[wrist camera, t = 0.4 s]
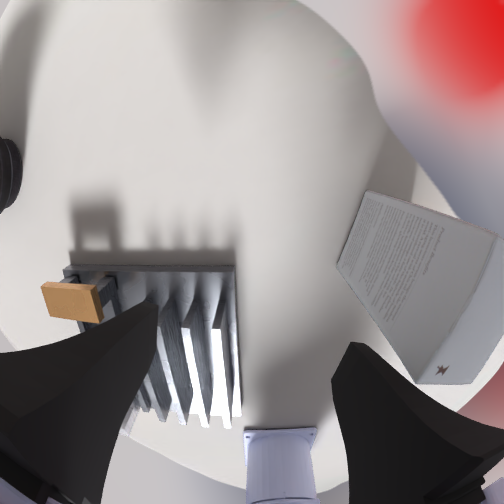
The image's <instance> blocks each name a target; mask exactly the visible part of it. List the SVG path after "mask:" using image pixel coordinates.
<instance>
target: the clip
mask: <svg viewBox="0 0 504 504" xmlns="http://www.w3.org/2000/svg"><path fill="white" fill-rule="evenodd" d="M140 407H141V405H140V403H139V401H138V398H137V396H135V398H134V400H133V402H132V404H131V406H130V408H129V410H128V412H127V414H126V416H125V418H124V420H123V423H122V425H121V428H120V431H119V434H121V435H125V436H129V435H130V432H131V430H132V427H133V425H134V422H135V420H136V417H137V415H138V412H139V410H140Z"/></svg>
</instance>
